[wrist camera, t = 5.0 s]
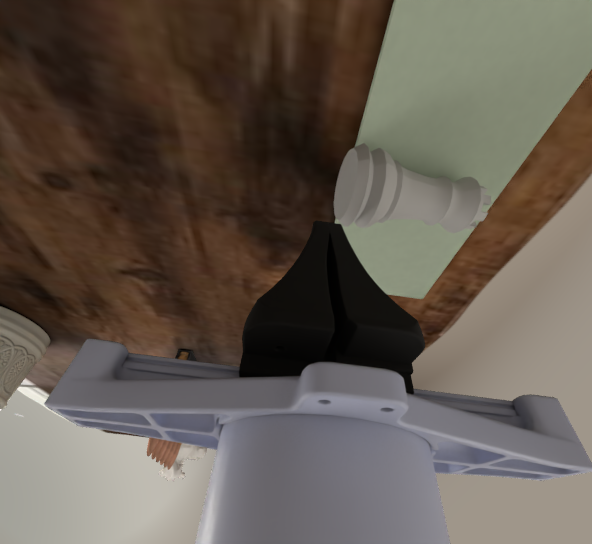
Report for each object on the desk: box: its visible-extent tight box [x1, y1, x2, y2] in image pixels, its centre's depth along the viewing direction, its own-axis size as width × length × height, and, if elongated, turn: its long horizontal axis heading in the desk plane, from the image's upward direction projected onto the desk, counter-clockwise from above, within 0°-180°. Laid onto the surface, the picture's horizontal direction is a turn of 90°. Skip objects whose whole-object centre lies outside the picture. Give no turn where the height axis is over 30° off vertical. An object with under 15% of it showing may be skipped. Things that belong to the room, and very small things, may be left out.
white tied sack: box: [159, 443, 207, 481], centre depth 66 cm, size 12×8×11 cm
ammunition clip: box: [147, 349, 196, 470], centre depth 37 cm, size 11×2×12 cm, turn 175°
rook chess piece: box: [334, 143, 491, 233], centre depth 16 cm, size 4×4×8 cm
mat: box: [335, 0, 592, 299], centre depth 18 cm, size 20×10×1 cm, turn 173°
